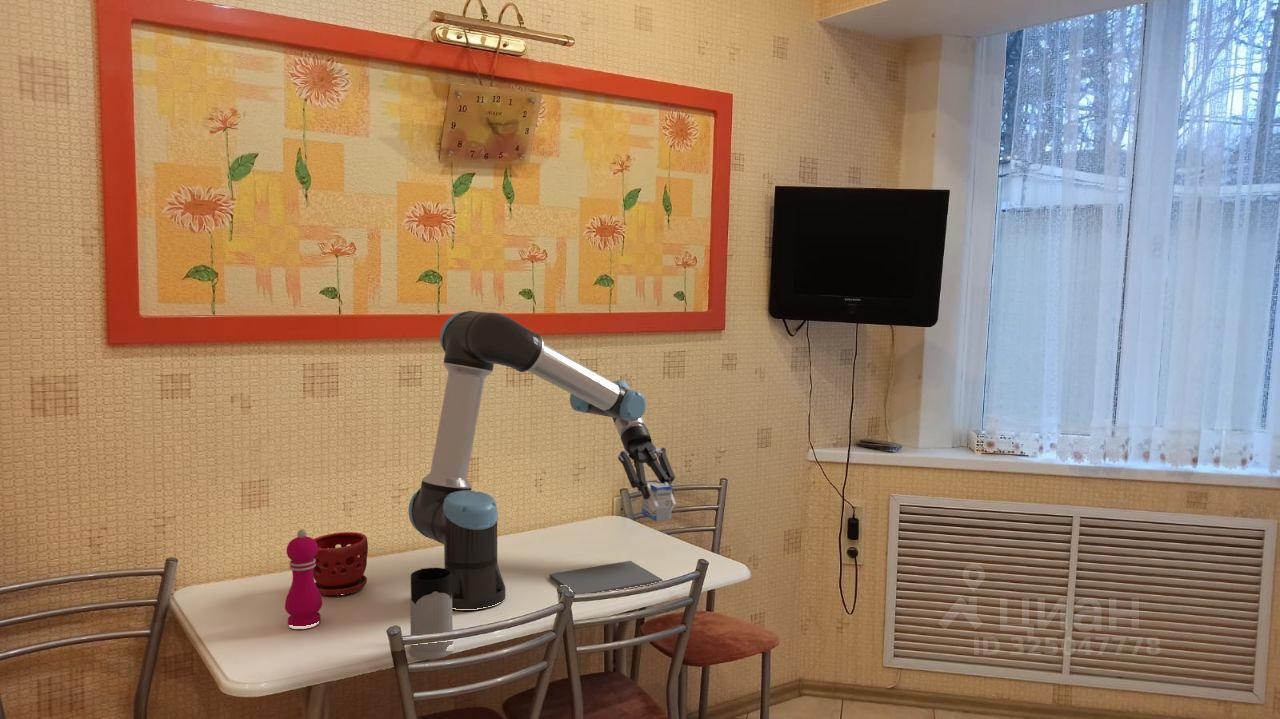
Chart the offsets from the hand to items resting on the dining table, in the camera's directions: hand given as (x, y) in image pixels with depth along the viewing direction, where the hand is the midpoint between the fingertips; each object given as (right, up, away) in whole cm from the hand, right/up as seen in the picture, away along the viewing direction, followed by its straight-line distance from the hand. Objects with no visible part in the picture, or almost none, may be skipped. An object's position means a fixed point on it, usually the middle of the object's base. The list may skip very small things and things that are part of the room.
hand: (664, 507), depth 219 cm
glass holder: (-47, -19, -48) cm, 70 cm away
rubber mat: (-14, -16, -10) cm, 23 cm away
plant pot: (-75, -16, -18) cm, 79 cm away
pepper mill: (-75, -18, -38) cm, 86 cm away
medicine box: (-2, -3, +4) cm, 5 cm away
